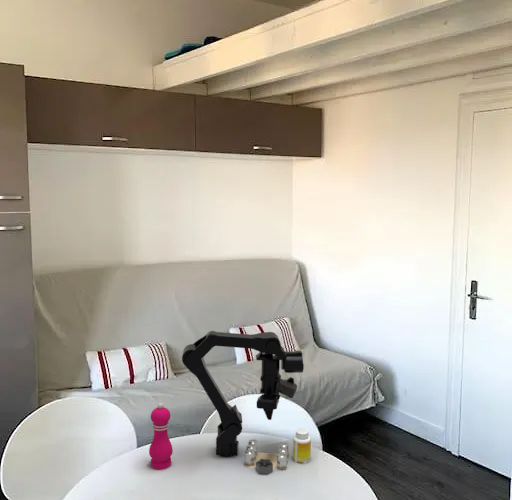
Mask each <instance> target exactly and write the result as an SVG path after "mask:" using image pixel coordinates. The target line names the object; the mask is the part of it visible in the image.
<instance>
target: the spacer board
mask: <svg viewBox="0 0 512 500" xmlns="http://www.w3.org/2000/svg"><path fill="white" fill-rule="evenodd" d="M277 454H278V453H272V452H271V453H270V452H269V453H268V452H259V451H258V454H257V455H256V460H255V464H254V466H246V465H245V464H244V465H243V467H244V468H251V469H252V468H253V469H256V462H257V461H259V460H260V459H267V460H270V461H271V462H272V464H273V471H274V470H276V471H280V470H279V469H277ZM284 471H285V472H286V471H287V468H286V469H285V470H284Z"/></svg>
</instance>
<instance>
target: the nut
mask: <svg viewBox="0 0 512 500" xmlns="http://www.w3.org/2000/svg"><path fill="white" fill-rule="evenodd" d="M255 471H256V472H257V473H258V475H262V476H264V475H265V476H268V475H270V474H272V473H273V471H274V469H273V464H272V462H271V461H270V460H267V459H260V460H259V461H257V462H256V468H255Z"/></svg>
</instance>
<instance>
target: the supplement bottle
mask: <svg viewBox="0 0 512 500" xmlns="http://www.w3.org/2000/svg"><path fill="white" fill-rule="evenodd" d="M311 438H312V437H310V436H309V430H308V429H306V428H298V429H296V430H295V435H294V436H293V438H292V461H294V462H295V463H297V464H307V463H309V462H311V451H312V449H311V447H312V446H311V444H312V439H311Z"/></svg>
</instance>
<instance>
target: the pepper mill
mask: <svg viewBox="0 0 512 500" xmlns="http://www.w3.org/2000/svg"><path fill="white" fill-rule="evenodd" d="M150 419H151V420H150V421H151V422H152V424H151V425H152V426H151V427H152V430H153V438H152V440H151V443H150V446H149V450H148V453H149V454H148V455H149V457H150V458H151V459H150V466H151V468H153V469H155V468H156V469H155V470H164V469H165V470H166V469H168V468H169V467H170V466H171V465H172V457H171V456H172V455H173V453H174V452H173V451H174V450H173V445H172V443H171V440H170V438H169V434H168V429H169V427H170V422H169V421H170V419H171V411H170V409H168V407H165V406H164V404H163V403H162V402H159V403H158V404H157V407H155V408H153V410H152V411H151V412H150Z"/></svg>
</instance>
